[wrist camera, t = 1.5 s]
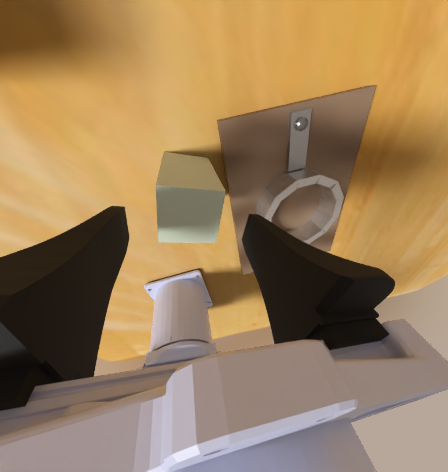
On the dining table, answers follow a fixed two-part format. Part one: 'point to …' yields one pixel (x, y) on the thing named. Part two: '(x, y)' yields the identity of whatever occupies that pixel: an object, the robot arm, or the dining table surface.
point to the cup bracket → (294, 164)
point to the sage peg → (188, 199)
